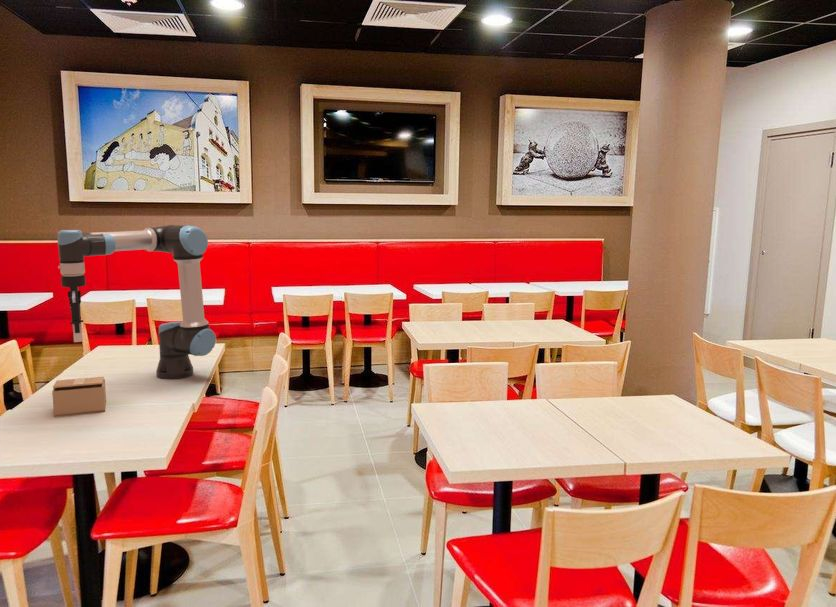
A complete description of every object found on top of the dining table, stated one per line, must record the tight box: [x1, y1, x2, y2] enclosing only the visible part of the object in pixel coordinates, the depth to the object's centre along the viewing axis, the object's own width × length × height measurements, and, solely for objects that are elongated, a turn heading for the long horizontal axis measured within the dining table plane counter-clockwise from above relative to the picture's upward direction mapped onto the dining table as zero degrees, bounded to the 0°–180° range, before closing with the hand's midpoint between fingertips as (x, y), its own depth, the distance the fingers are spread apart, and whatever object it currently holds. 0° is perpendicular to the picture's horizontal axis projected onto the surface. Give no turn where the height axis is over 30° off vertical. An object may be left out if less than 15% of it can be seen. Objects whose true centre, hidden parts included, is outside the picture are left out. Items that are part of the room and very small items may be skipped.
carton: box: [51, 378, 107, 418], centre depth 238 cm, size 16×12×9 cm
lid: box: [52, 376, 105, 389], centre depth 237 cm, size 15×12×1 cm
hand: (78, 341), depth 234 cm, fingers closed
